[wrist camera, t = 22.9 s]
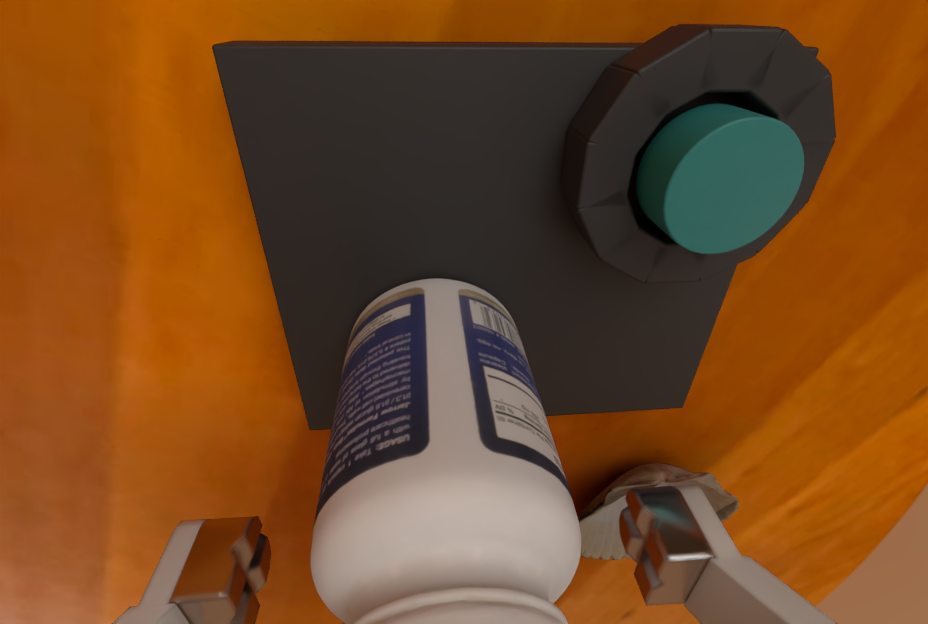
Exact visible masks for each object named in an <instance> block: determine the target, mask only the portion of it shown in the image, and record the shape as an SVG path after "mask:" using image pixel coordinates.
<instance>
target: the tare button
mask: <svg viewBox="0 0 928 624" xmlns="http://www.w3.org/2000/svg"><path fill="white" fill-rule="evenodd" d="M803 172H804V153H803V148H802V145H801V143H800V140H799V138H798V137H797V135H796V134H795V132H794V131H793V130H792V129H791V128H790V127H789V126H788V125H786V124H785V123H783V122H781V121H779V120H777V119H774V118H771V117H768V116H765V115H762V114H758V113H755V112H752V111H749V110H746V109H742V108H739V107H736V106H733V105H728V104H721V103H715V104H706V105H702V106H698V107H696V108H693V109H690V110H688V111H686V112H684V113H682V114H681V115H679V116H677V117H676V118H674V119H673V120H672V121H670V122H669V123H668V124H667V125H665V126H664V127H663V128H662V129H661V130H660V131H659V132H658V134H657V135H656V136H655V137H654V138H653V140H652V141H651V143H650V144H649V146H648V147H647V149H646V151H645V153H644V154H643V157H642V159H641V162H640V164H639V168H638V171H637V178H636V192H637V198H638V202H639V204H640V206H641V209H642V210H643V212H644V213H645V214H646V216H647V217H648V218H649V219H650V220H651V221H653V222H654V223H655V224H656V225H657V226H658V227H659V228H660V229H661V230H663V231H664V232H665V233H666V234H667V235H668V236H669V237H670V238H671V239H672V240H674V241H675V242H676V243H677V244H678V245H680V246H681V247H683V248H685V249H687V250H689V251H692V252H695V253H701V254H719V253H724V252H729V251H732V250H735V249H738V248H740V247H742V246H745V245H747V244H748V243H750V242H752V241H754V240H755V239H757V238H758V237H760V236H761V235H763V234H764V233H765V232H766V231H768V230H769V229H770V228H771V227H772V226H773V225H774V224H775V223H776V222H777V221H778V220H779V219H780V218H781V217H782V216H783V214H784V213H785V212H786V210H787V209H788V208H789V206H790V205H791V203H792V201H793V200H794V198H795V196H796V194H797V192H798V189H799V186H800V184H801V181H802V176H803Z"/></svg>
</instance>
